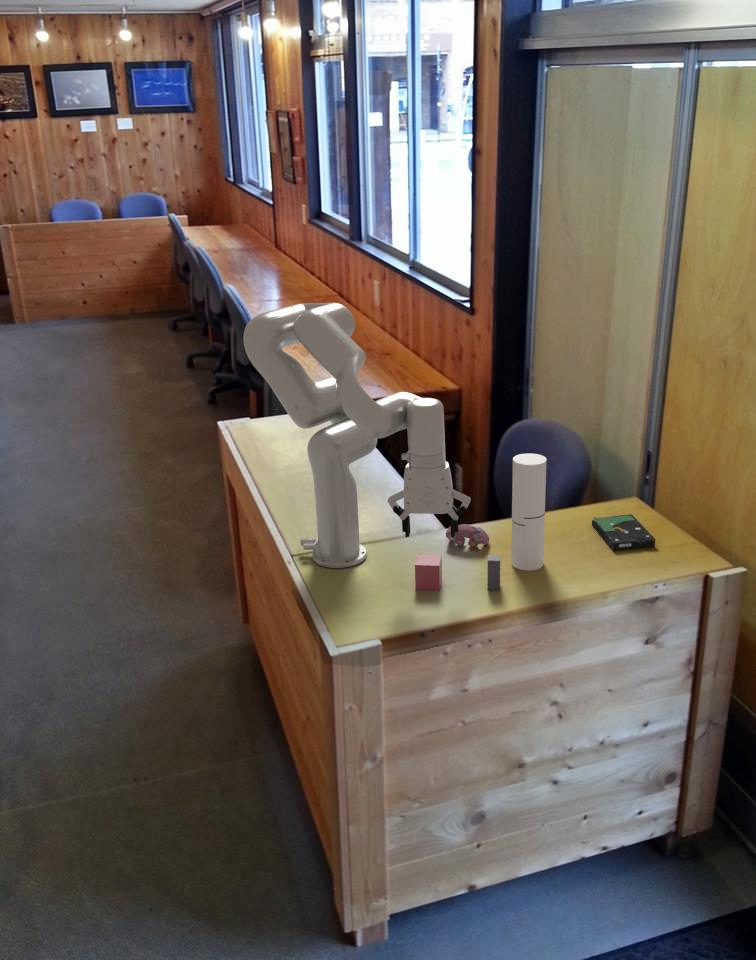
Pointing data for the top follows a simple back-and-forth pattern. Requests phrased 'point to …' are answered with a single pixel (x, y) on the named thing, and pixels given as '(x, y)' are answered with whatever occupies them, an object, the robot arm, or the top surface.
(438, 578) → the pink matte cube
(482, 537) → the purple lumpy figure
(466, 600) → the top surface
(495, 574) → the post
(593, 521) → the disk drive
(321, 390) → the robot arm
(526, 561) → the cylindrical container
